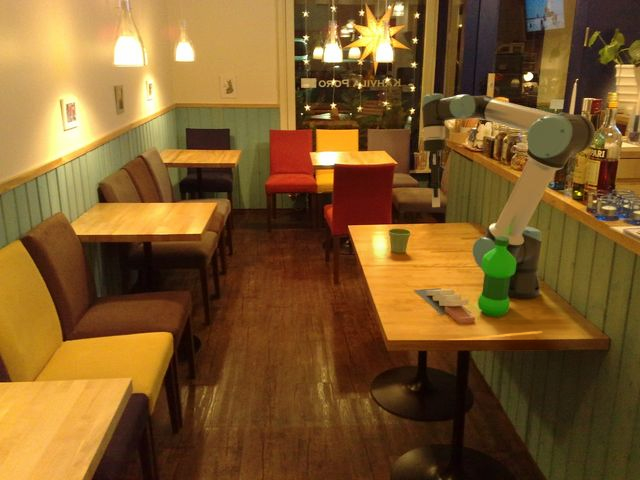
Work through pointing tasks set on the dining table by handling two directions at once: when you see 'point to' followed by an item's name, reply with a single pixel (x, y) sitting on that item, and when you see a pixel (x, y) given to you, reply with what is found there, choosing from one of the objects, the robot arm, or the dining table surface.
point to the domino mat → (430, 301)
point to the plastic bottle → (497, 278)
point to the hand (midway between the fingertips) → (436, 206)
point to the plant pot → (399, 239)
